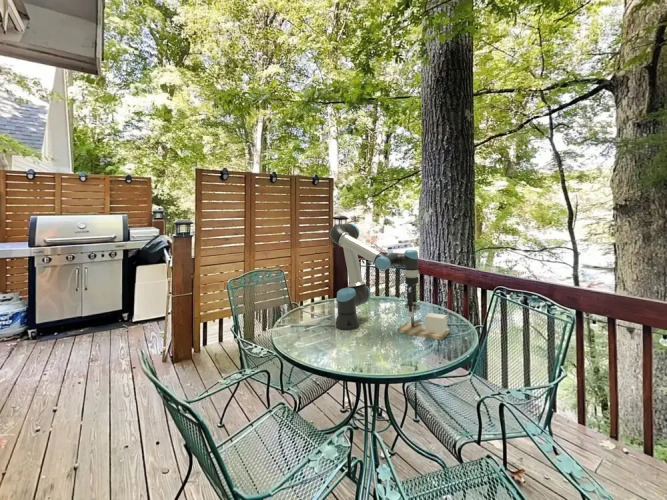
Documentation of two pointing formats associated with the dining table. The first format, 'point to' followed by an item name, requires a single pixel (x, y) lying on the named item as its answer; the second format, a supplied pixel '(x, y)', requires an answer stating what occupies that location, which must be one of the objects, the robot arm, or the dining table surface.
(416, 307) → the t key
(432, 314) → the cream rectangular block
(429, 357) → the dining table surface
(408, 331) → the base plate
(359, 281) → the robot arm
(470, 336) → the dining table surface
